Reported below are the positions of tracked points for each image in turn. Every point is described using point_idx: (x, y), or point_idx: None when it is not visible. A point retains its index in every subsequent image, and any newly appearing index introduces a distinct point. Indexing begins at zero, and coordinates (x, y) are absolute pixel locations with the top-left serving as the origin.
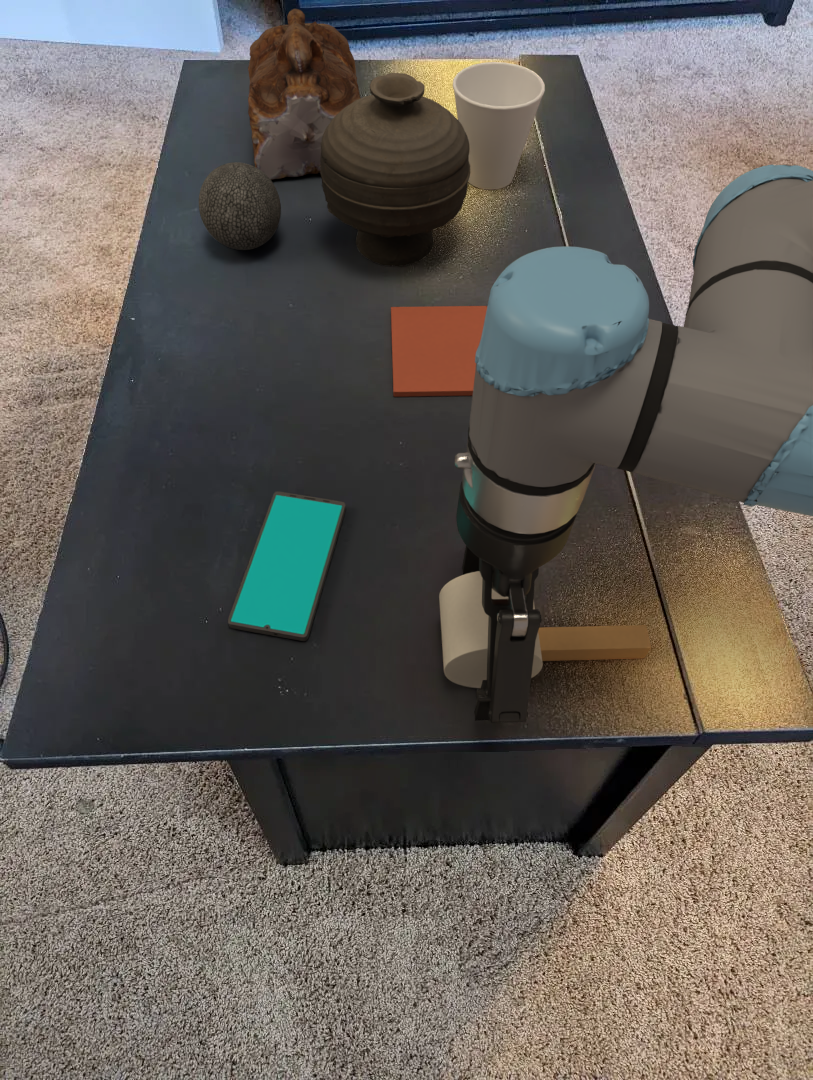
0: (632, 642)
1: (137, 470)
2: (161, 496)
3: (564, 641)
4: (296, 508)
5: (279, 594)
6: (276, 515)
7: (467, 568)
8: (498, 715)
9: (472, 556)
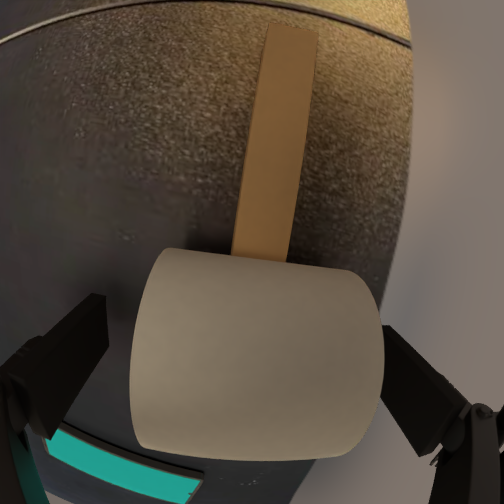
0: (304, 56)
1: (62, 490)
2: (76, 491)
3: (278, 186)
4: (57, 449)
5: (154, 484)
6: (69, 461)
7: (100, 352)
8: (499, 452)
9: (81, 373)
